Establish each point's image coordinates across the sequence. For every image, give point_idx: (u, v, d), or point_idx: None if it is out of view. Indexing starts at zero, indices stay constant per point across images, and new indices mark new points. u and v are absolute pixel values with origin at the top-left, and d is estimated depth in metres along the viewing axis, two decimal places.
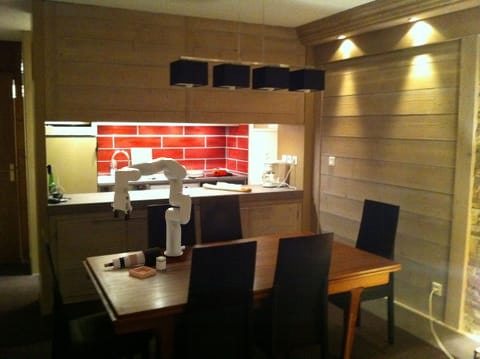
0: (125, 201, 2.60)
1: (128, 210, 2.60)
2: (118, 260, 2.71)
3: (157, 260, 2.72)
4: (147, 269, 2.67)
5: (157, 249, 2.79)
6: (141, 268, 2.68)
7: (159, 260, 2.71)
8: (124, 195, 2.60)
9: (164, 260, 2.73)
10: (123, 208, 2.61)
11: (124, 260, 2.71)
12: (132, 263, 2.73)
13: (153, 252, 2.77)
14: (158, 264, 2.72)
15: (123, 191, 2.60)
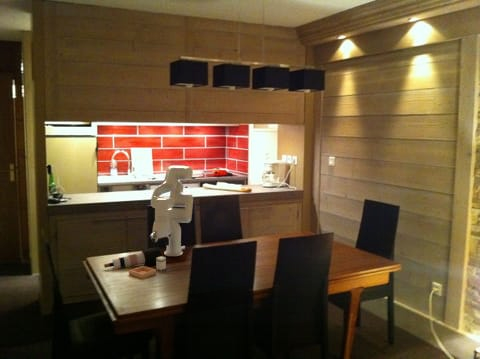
0: None
1: (170, 234, 2.76)
2: (118, 260, 2.71)
3: (157, 260, 2.72)
4: (147, 269, 2.67)
5: (157, 249, 2.80)
6: (141, 268, 2.68)
7: (159, 260, 2.71)
8: None
9: (164, 260, 2.73)
10: (168, 234, 2.73)
11: (124, 260, 2.71)
12: (132, 263, 2.73)
13: (153, 252, 2.78)
14: (158, 264, 2.72)
15: None
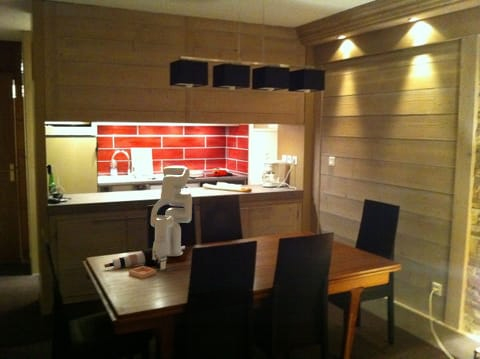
0: None
1: (167, 256, 2.76)
2: (118, 260, 2.71)
3: None
4: (147, 269, 2.67)
5: None
6: (141, 268, 2.68)
7: None
8: None
9: (164, 260, 2.73)
10: (168, 253, 2.75)
11: (124, 260, 2.71)
12: (132, 263, 2.73)
13: None
14: None
15: None
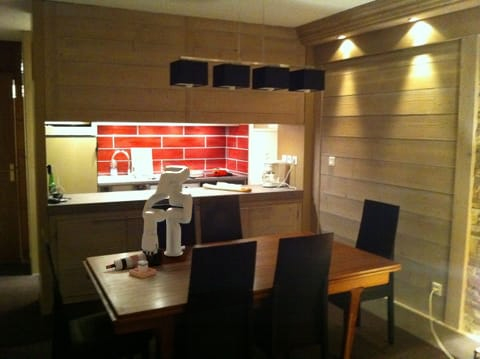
0: None
1: None
2: (120, 261, 2.69)
3: (138, 264, 2.62)
4: None
5: (158, 249, 2.80)
6: None
7: (141, 264, 2.61)
8: None
9: (146, 264, 2.62)
10: None
11: (126, 261, 2.70)
12: (134, 264, 2.72)
13: None
14: (140, 268, 2.61)
15: None
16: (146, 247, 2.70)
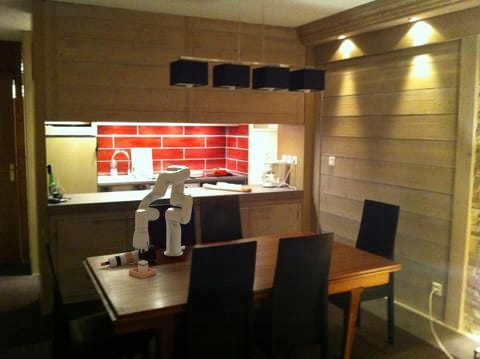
0: None
1: None
2: (114, 258, 2.74)
3: (138, 264, 2.62)
4: None
5: (152, 247, 2.85)
6: None
7: (141, 264, 2.61)
8: None
9: (146, 264, 2.62)
10: None
11: (120, 258, 2.75)
12: (128, 261, 2.77)
13: (148, 250, 2.82)
14: (140, 268, 2.61)
15: None
16: (137, 244, 2.74)
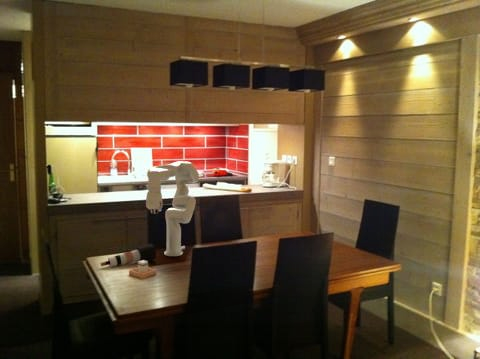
0: None
1: (152, 208, 2.78)
2: (114, 258, 2.74)
3: (138, 264, 2.62)
4: None
5: (151, 246, 2.86)
6: None
7: (141, 264, 2.61)
8: None
9: (146, 264, 2.62)
10: None
11: (120, 258, 2.75)
12: (128, 260, 2.78)
13: (148, 249, 2.84)
14: (140, 268, 2.61)
15: None
16: (150, 205, 2.73)
